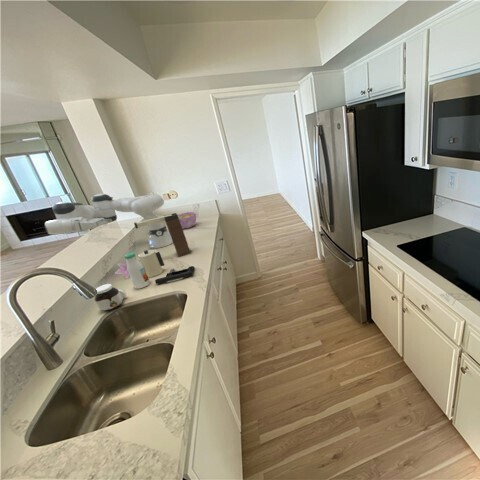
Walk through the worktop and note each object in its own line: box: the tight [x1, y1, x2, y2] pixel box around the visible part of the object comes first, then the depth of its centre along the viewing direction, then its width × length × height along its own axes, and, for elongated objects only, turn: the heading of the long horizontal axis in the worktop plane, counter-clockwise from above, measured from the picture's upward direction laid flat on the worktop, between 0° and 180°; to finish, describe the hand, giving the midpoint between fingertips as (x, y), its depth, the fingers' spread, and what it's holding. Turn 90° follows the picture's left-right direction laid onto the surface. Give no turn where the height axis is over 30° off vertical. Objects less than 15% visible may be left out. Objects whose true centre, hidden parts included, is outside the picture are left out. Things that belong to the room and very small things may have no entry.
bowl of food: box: [177, 211, 197, 230], centre depth 246 cm, size 20×20×12 cm
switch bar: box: [133, 213, 173, 229], centre depth 175 cm, size 3×22×3 cm, turn 125°
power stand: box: [164, 212, 191, 258], centre depth 185 cm, size 10×8×29 cm
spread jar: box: [94, 283, 127, 312], centre depth 135 cm, size 12×11×12 cm
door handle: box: [154, 265, 195, 285], centre depth 159 cm, size 3×20×16 cm
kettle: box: [136, 249, 165, 278], centre depth 162 cm, size 14×9×16 cm, turn 125°
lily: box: [114, 259, 130, 279], centre depth 166 cm, size 12×12×10 cm
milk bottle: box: [124, 252, 151, 290], centre depth 149 cm, size 8×8×20 cm
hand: (109, 221), depth 164 cm, fingers open, 8 cm apart
